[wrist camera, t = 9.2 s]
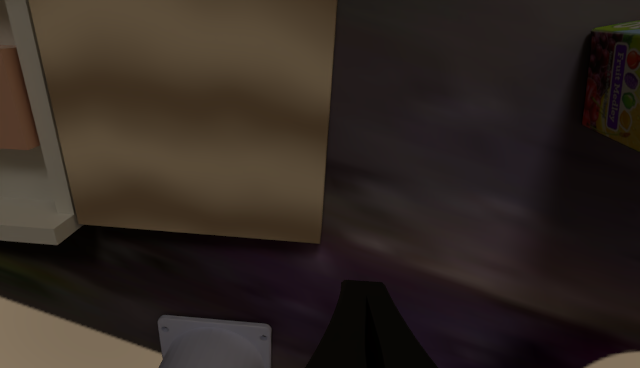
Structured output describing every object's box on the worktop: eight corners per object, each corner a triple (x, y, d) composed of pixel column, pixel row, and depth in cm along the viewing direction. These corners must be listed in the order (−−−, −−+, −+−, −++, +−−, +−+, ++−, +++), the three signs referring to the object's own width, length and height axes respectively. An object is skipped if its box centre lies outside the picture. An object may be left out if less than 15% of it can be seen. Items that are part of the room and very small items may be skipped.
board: (321, 226, 23) (319, 243, 21) (99, 208, 24) (78, 224, 22) (339, -34, 18) (339, -41, 16) (48, -52, 18) (15, -60, 16)
